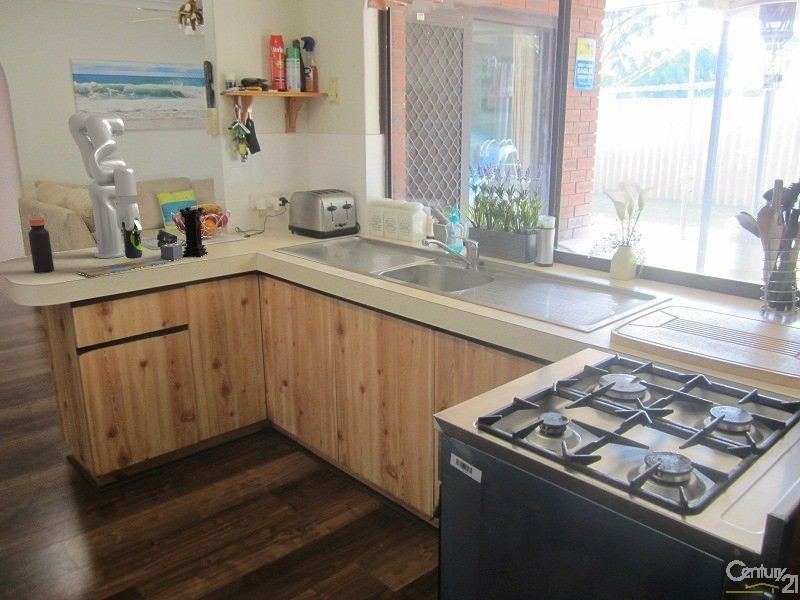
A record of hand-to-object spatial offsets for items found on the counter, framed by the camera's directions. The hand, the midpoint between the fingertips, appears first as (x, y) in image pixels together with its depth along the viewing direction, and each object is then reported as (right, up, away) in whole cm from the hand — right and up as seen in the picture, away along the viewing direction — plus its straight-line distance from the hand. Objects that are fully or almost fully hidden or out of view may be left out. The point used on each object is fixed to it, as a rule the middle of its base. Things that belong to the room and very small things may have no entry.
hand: (132, 246), depth 252 cm
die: (+10, -4, +15) cm, 19 cm away
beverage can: (0, -4, +1) cm, 5 cm away
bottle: (-31, -10, -6) cm, 33 cm away
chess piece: (+17, -2, +24) cm, 29 cm away
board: (-3, -9, -1) cm, 9 cm away
